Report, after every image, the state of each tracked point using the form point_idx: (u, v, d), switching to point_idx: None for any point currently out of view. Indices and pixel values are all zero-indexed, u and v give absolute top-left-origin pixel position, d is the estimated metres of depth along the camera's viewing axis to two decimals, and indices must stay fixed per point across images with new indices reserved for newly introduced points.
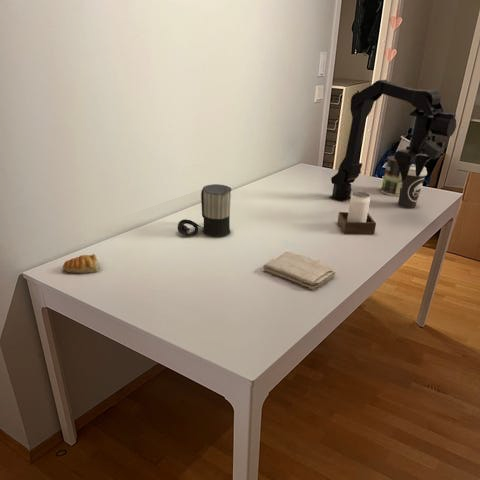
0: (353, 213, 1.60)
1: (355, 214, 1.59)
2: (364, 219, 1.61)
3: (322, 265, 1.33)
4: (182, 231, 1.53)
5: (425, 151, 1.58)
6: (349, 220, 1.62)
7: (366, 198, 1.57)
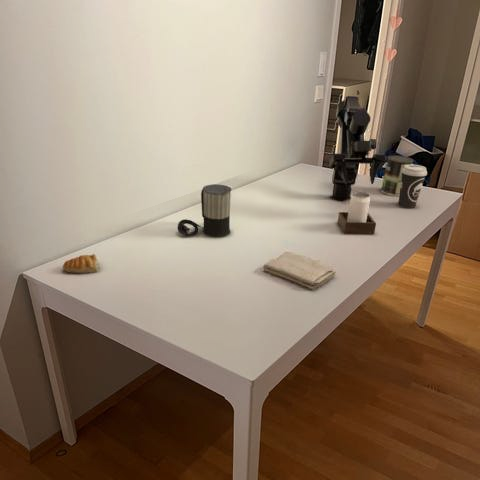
0: (353, 213, 1.60)
1: (355, 214, 1.59)
2: (364, 219, 1.61)
3: (322, 265, 1.33)
4: (182, 231, 1.53)
5: (354, 149, 1.61)
6: (349, 220, 1.62)
7: (366, 198, 1.57)
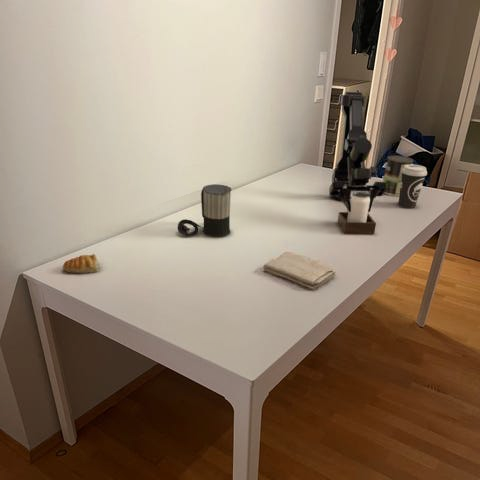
0: (353, 213, 1.60)
1: (355, 214, 1.59)
2: (364, 219, 1.61)
3: (322, 265, 1.33)
4: (182, 231, 1.53)
5: (354, 177, 1.58)
6: (349, 220, 1.62)
7: (366, 198, 1.57)
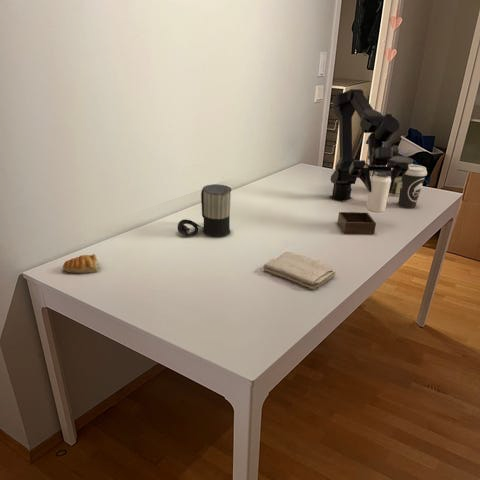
0: (373, 193, 1.57)
1: (375, 194, 1.57)
2: (385, 199, 1.58)
3: (322, 265, 1.33)
4: (182, 231, 1.53)
5: (375, 156, 1.55)
6: (369, 201, 1.59)
7: (387, 178, 1.54)
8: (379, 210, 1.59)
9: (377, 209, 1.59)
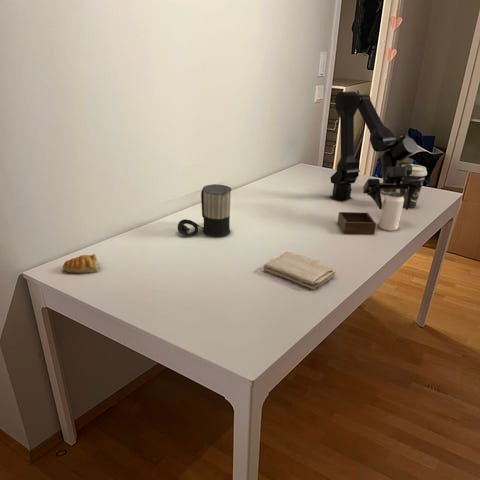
0: (387, 212, 1.61)
1: (389, 213, 1.61)
2: (398, 218, 1.62)
3: (322, 265, 1.33)
4: (182, 231, 1.53)
5: (389, 175, 1.59)
6: (383, 219, 1.64)
7: (401, 198, 1.59)
8: (392, 228, 1.64)
9: (390, 228, 1.63)
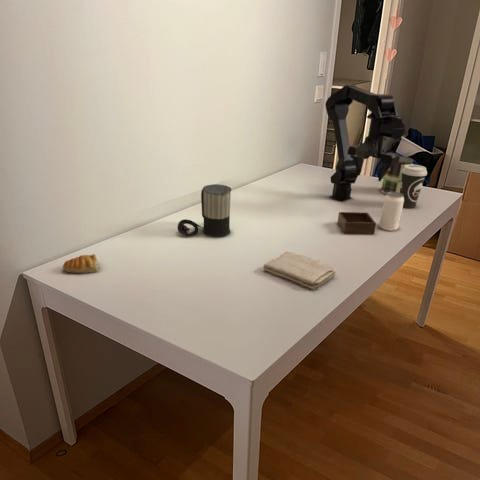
0: (387, 212, 1.61)
1: (389, 213, 1.61)
2: (398, 218, 1.62)
3: (322, 265, 1.33)
4: (182, 231, 1.53)
5: None
6: (383, 219, 1.64)
7: (401, 198, 1.59)
8: (392, 228, 1.64)
9: (390, 228, 1.63)
